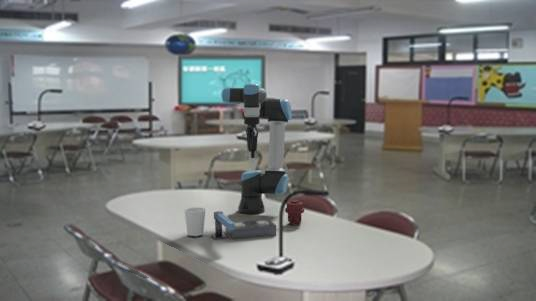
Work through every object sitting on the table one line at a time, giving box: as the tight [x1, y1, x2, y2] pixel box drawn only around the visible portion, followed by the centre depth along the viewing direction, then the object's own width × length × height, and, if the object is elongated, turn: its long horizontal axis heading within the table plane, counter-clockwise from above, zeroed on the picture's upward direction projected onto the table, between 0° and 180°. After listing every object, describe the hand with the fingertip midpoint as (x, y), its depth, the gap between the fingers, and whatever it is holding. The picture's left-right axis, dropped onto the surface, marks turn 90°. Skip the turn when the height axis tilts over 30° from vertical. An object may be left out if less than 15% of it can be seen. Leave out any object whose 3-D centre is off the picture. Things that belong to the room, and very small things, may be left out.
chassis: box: [225, 219, 277, 240], centre depth 263 cm, size 12×22×5 cm, turn 108°
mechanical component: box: [284, 199, 305, 226], centre depth 282 cm, size 12×10×10 cm
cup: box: [184, 206, 206, 238], centre depth 261 cm, size 10×10×13 cm
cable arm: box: [213, 211, 235, 230], centre depth 248 cm, size 24×4×3 cm, turn 21°
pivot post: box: [210, 219, 227, 240], centre depth 258 cm, size 6×6×9 cm
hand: (252, 164), depth 266 cm, fingers closed
